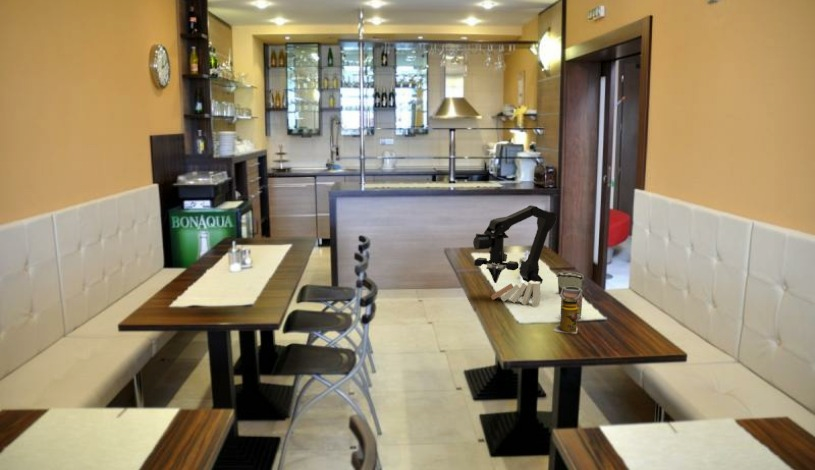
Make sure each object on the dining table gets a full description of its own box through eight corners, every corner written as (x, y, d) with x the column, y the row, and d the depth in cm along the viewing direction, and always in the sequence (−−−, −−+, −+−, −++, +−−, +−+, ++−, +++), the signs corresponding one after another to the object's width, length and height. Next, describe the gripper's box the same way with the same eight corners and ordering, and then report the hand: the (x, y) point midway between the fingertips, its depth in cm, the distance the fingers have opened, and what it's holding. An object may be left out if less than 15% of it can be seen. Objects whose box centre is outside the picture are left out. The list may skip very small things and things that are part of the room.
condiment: (576, 334, 230) (578, 303, 228) (553, 331, 232) (555, 300, 230) (577, 328, 237) (579, 297, 234) (555, 325, 239) (556, 295, 237)
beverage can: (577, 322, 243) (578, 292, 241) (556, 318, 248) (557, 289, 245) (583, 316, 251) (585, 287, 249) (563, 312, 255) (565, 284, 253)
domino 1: (495, 297, 276) (513, 287, 271) (492, 300, 272) (510, 289, 268) (493, 294, 276) (511, 283, 272) (490, 296, 273) (508, 285, 268)
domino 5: (539, 304, 267) (540, 281, 265) (536, 306, 264) (537, 283, 262) (534, 303, 268) (535, 281, 266) (532, 305, 264) (533, 283, 263)
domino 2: (506, 299, 274) (522, 285, 269) (503, 301, 270) (519, 287, 266) (503, 296, 274) (519, 282, 270) (500, 298, 271) (516, 284, 266)
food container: (585, 294, 284) (586, 272, 282) (582, 297, 278) (584, 275, 276) (558, 290, 289) (559, 270, 287) (555, 294, 283) (556, 272, 281)
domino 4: (528, 302, 269) (535, 282, 266) (525, 304, 266) (532, 284, 263) (523, 300, 270) (531, 280, 267) (521, 303, 267) (528, 282, 264)
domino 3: (517, 301, 271) (529, 283, 268) (514, 303, 268) (527, 285, 264) (513, 298, 272) (526, 280, 268) (510, 300, 269) (523, 282, 265)
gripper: (523, 247, 273) (521, 281, 276) (483, 243, 281) (482, 276, 284) (515, 251, 263) (513, 287, 266) (474, 247, 271) (473, 281, 274)
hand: (495, 282), depth 273 cm, fingers closed
